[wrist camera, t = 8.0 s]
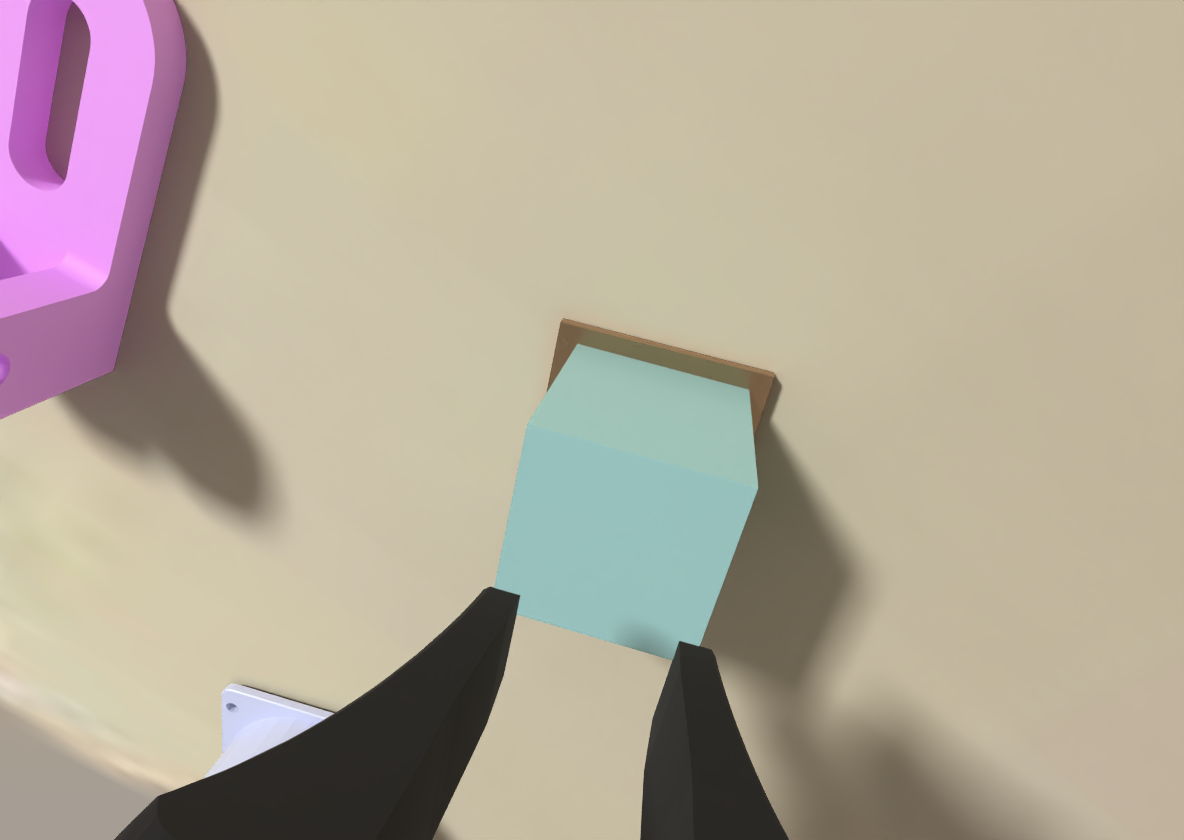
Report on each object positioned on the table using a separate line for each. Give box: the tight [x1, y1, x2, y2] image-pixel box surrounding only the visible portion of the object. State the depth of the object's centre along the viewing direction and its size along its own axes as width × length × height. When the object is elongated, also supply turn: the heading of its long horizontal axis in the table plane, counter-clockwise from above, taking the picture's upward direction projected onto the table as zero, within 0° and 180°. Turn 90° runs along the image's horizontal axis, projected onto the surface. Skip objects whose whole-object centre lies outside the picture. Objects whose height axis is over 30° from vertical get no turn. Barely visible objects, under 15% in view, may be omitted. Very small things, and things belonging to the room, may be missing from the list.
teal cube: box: [494, 344, 758, 660], centre depth 19 cm, size 5×5×6 cm
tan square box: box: [547, 318, 775, 436], centre depth 20 cm, size 6×6×4 cm
